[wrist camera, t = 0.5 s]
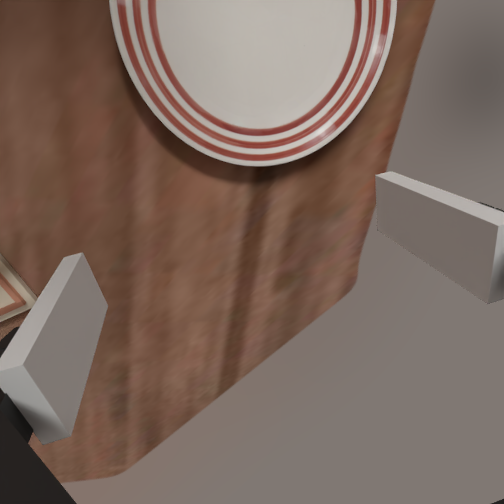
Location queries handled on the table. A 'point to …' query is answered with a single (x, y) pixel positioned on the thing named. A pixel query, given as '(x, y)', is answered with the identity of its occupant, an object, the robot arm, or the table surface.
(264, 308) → the table surface
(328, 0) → the dinner plate
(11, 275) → the board
